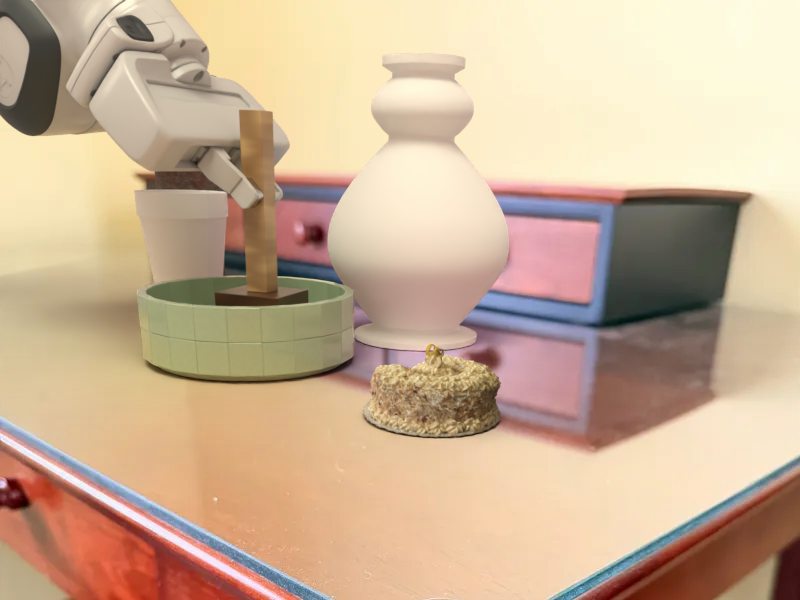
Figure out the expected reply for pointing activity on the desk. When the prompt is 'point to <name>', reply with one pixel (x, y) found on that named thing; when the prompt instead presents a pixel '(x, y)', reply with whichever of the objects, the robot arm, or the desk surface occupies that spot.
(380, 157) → the decorative vase
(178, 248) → the white flower pot
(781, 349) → the desk surface
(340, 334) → the bowl
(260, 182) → the wooden post stand
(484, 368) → the cake
